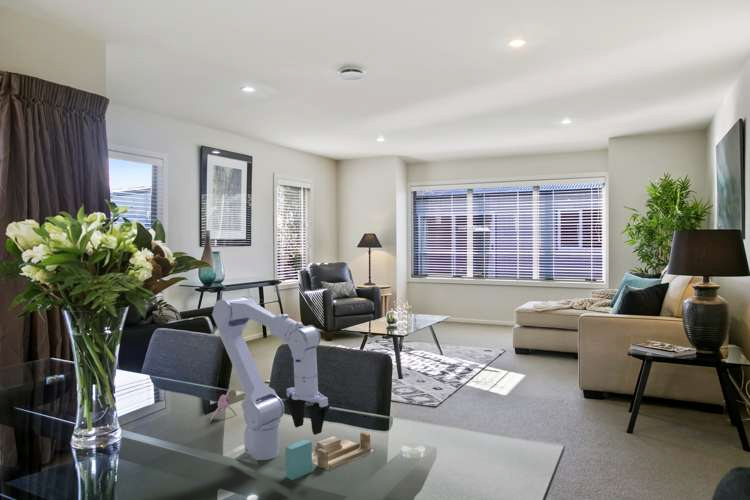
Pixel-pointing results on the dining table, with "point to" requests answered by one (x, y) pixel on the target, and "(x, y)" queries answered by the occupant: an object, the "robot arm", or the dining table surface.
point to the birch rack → (342, 453)
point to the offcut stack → (329, 444)
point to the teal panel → (298, 459)
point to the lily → (223, 403)
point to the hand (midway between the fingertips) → (307, 429)
